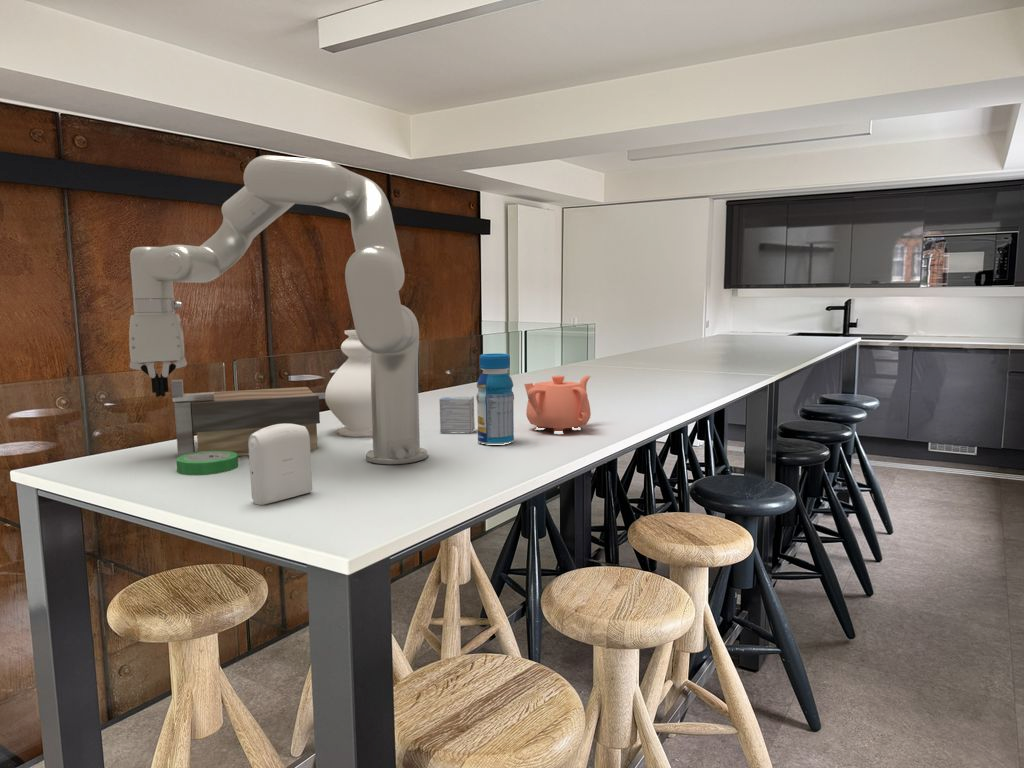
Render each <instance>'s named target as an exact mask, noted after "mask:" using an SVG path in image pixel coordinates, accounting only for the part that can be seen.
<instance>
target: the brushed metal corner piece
mask: <svg viewBox="0 0 1024 768" xmlns="http://www.w3.org/2000/svg"><path fill="white" fill-rule="evenodd" d="M183 382H184V381H183V379H172V380H171V395H172V403H175V402H180V401H192V402H194V401H197V400H214V392H215V391H209V392H208V393H205V392H195V393H185V392H184V383H183Z"/></svg>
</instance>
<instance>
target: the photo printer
mask: <svg viewBox="0 0 1024 768" xmlns="http://www.w3.org/2000/svg"><path fill="white" fill-rule="evenodd" d="M248 447H249V455H248V458H249V460H248V461H249V472H250V475H249V477H250V487H251V488H250V490H251V499H252V502H253V504H255V505H259V506H264V505H267V504H272V503H277V502H279V501H283V500H287V499H290V498H294V497H298V496H301V495H306V494H309V493H311V492H312V491H313V475H312V474H313V473H312V458H311V450H310V438H309V433H308V430H307V429H306V427H305V426H301V425H297V424H276V425H272V426H268V427H265V428H263V429H261V430H258V431H257V432H255V433H253V434H252V435H251V436H250V437H249V442H248Z"/></svg>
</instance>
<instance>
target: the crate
mask: <svg viewBox="0 0 1024 768" xmlns="http://www.w3.org/2000/svg"><path fill="white" fill-rule="evenodd" d="M192 403H193V401H180V402H174V417H175V431H176V445H177V458H178V457H180V456H182V455H186V454H190V453H196V449H195V435H194V434H195V433H194V430H193V415H192ZM301 426H305V427H306V429H307V430H308V433H309V438H310V451H313V450H318V446H319V445H318V429H317V427H318V426H317V424H305V425H301ZM264 428H265V427H264ZM261 429H263V428H250V429H237V430H223V431H210V432H196V439H197V440H196V441H197V442H196V443H197V452H204V451H230V452H235V453H236V454H237V455H238V457H241V456H243V457H244V456H249V447H248V442H249V437H250V436H251V435H252V434H253V433H255V432H257V431H258V430H261Z"/></svg>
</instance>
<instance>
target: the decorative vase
mask: <svg viewBox="0 0 1024 768" xmlns="http://www.w3.org/2000/svg"><path fill="white" fill-rule="evenodd" d="M344 335H347V336H348V337H347V338H346V339H344V341H343V342H342V343H341V345H340V350H341V352H342V353H343V354H344V355H345V356H347V357H348V358H347V359H346V360H345V362H343V363H342V365H341V366H339V368H338V369H337V370H336V371H335V373H333V375H332V377H331V379H330V380H329V382H328V383H327V385H326V389H325V394H324V399H325V404H326V406H327V407H328V409H329V410H330V412H331V413H332V414H333V415H334V416H335V418H337V420H338V421H339V422H340V423H341V424H342V425H343V426H344V427H341V428H339V429H338V430H337V434H338V435H340V436H343V437H351V438H352V437H353V438H354V437H355V438H359V437H360V438H361V437H362V438H363V437H373V433H372V404H371V353H372V352H371V351H369V350H367V349H366V348H365V347H364V346H363V345H362V344H361V342H360V341H359V339H358V336H357V333H356V330H355V329H347V330H344Z"/></svg>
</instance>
